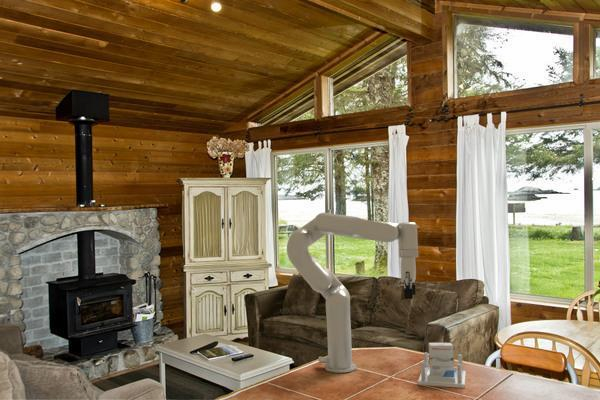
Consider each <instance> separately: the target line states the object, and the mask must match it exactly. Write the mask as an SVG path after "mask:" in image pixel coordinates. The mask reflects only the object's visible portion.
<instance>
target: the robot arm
mask: <svg viewBox="0 0 600 400" xmlns="http://www.w3.org/2000/svg"><path fill="white" fill-rule="evenodd" d="M326 235H331V236H339V237H345V238H350V239H351V238H353V239H362V240H369V241H376V242H383V243H392V242H395V241H396V240H397V241H398V242H397V243H398V258H400V282H401V283H403V296H404V300H413V298H414V297H413V296H415V295H416V282H415V281H416V280H417V279H416V277H417V267H416V258H419V243H418V241H419V240H418V225H417V223H416V222H413V221H412V222H411V221H410V222H399V223H398V222H389V221H388V222H384V221H376V220H375V221H374V220H369V219H365V218H364V219H363V218H361V217H357V216H351V215H345V214H344V215H343V214H336V213H330V212H329V213H328V212H320V213H319V214H317V215H316V216H315V217H314V218H313V219H312V220H310V221H309V222H307V223H306V224H304V225H303V226H302V227H300V228H299V229H295V230H294V231H293V232H292V233H291V235H290V236H289V238H288V241H287V244H286V254H287V257H288V259H289V261H290V263H291V264H292V266H293V267H294V268H295V270H297V272H298V273H299V274H300V276H301V277H302V278H303V279H304V281H306V282H307V285H309V286H310V288H311V289H312V290H313V291H315V292H316V293H320V294H321V296H322V297H323V298H324V299H325V313H326V314H325V315H326V330H327V331H326V332H327V356H318V360H317V361H318V362H319V363H321V364H325V365H324V370H325V371H327V372H330V373H336V374H342V373H350V372H354V371H355V370H356V369H357V364H356V363H354V362H353V353H352V352H353V351H352V349H353V348H352V328H351V327H352V325H351V323H352V322H351V295H350V291H348V289H347V288H346V286H344V285H343V283H342V282H341V281H340V279H338V278H337V277H336V275H335V274H334V273H333V272H332V271H331V269H329V268H328V267H324V266H322V265H321V264H320V263H319V262H318V261H317V260H316V258H315V257H314V256H313V255H312V254H311V253H310V252H309V247H311V246H312V245H313V244H315V243H316V242H318V241H320V239H322V238H324V237H325V236H326Z"/></svg>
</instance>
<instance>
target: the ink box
mask: <svg viewBox="0 0 600 400" xmlns="http://www.w3.org/2000/svg"><path fill="white" fill-rule="evenodd" d="M454 355H455V354H454V345H453V343H452V342H428V369H430V376H437V377H453V378H454V377H455V376H454V367H455V359H454V358H455V357H454Z"/></svg>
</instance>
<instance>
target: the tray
mask: <svg viewBox="0 0 600 400" xmlns="http://www.w3.org/2000/svg"><path fill="white" fill-rule="evenodd" d="M457 356H458V357H457V358H458V359H457V361H458V363H457V364H456V366H454V376H455V377H454V378H453V377H437V376H430V368H429V352H423V358H424V359H423V361H420V375H419V377H418V380H417V385H418V386H432V387H444V388H445V387H446V388H460V389H461V388H462V389H465V388H466V377H467V375H466V374H467V371H466V370H463V369H464V367H463V354H461V353H459V354H457Z"/></svg>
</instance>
